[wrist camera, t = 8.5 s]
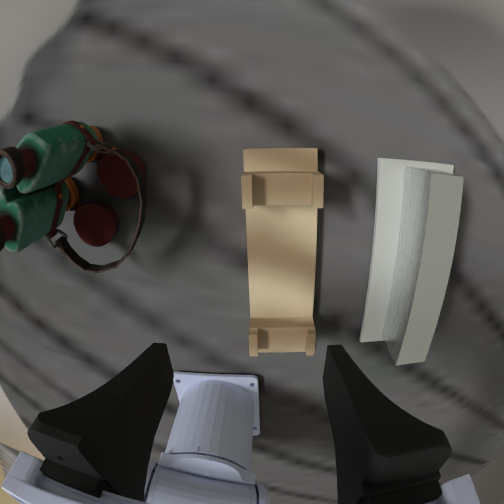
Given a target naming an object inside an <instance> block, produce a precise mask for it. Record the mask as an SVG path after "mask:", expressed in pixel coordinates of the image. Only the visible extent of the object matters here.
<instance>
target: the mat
mask: <svg viewBox="0 0 504 504" xmlns="http://www.w3.org/2000/svg"><path fill="white" fill-rule="evenodd" d="M404 166H409V167H420V168H429V169H436V170H440V171H444V172H447V173H451V174H453V170H454V165H450V164H441V163H433V162H423V161H413V160H402V159H389V158H378V162H377V192H376V210H375V224H374V236H373V247H372V256H371V265H370V274H369V282H368V289H367V296H366V303H365V310H364V316H363V322H362V328H361V333H360V339H359V340H360V342H372V341H383V340H384V339H383V337H382V332H383V327H384V323H385V318H386V313H387V308H388V303H389V298H390V292H391V286H392V281H393V274H394V268H395V261H396V254H397V246H398V238H399V229H400V219H401V208H402V195H403V179H404Z"/></svg>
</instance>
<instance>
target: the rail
mask: <svg viewBox="0 0 504 504" xmlns="http://www.w3.org/2000/svg"><path fill="white" fill-rule="evenodd" d="M463 179H464V177H462V176H458V175H455V174H451V173H447V172H444V171H440V170H436V169H429V168H420V167H409V166H404V179H403V195H402V208H401V219H400V229H399V238H398V246H397V254H396V261H395V268H394V274H393V281H392V286H391V292H390V298H389V303H388V308H387V313H386V318H385V323H384V327H383V332H382V337H383V339H384V341H385V343H386V345H387V347H388V349H389V352H390V354H391V356H392V358H393V360H394V362H395V364H396V365H403V364H410V363H417V362H423V361H425V359H426V356H427V353H428V350H429V347H430V344H431V341H432V338H433V335H434V332H435V329H436V325H437V322H438V319H439V315H440V311H441V308H442V304H443V300H444V296H445V292H446V288H447V284H448V280H449V275H450V270H451V266H452V261H453V255H454V250H455V244H456V238H457V232H458V225H459V218H460V210H461V201H462V191H463Z"/></svg>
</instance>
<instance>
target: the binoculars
mask: <svg viewBox="0 0 504 504" xmlns="http://www.w3.org/2000/svg"><path fill="white" fill-rule="evenodd" d="M121 149H123V147H121V148H116V147H112V146H110V144H108V143H105V142H103V138H102V135H101V133H100V131H99V129H98V128H96V127H94V126H88V125H86V124H85V123H83V122H76V121H67V122H64V123H62V124H60V125H58V126H54V127H49V128H45V129H41V130H37V131H34V132H31V133H29V134H27V135H25V136H24V137H23V138H22V140H21V141H20V142H19V144H18V145H17V147H8V148H3V149H0V184H1V185H2V186H3V188H2V189H1V191H0V251H1V250H2V249H3V248H4V247H5V248H6V249H7V250H9V251H11V252H12V253H17V252H19V251H21V250H23V249H24V248H26V247H27V246H29V245H31V244H32V243H34V242H36V241H37V240H39V239H40V238H42V237H43V236H47V240H48V242H49V244H50V245H51V247H52V248H56V247H57V248H58V249H60V250H61V251H62V253H63V254H64V256H67V257H68V258H69V259H70V260H71V261H72V262H73V263H74V264H75V265H76V266H78V267H79V268H81V269H82V270H84V271H86V272H93V273H100V272H103V271H107V270H110V269H113V268H117V266H118V265H119V264H120V263H121V262H122V261H123V260H124V259H125V258H126V257H127V256H128V255H129V253H130V252H131V251H132V249H133V248H134V246H135V243H136V241H137V239H138V237H139V235H140V233H141V229H142V226H143V223H144V219H145V212H146V203H147V197H146V191H145V185H144V181H145V179H146V168H145V164H144V162H143V161H142V159H141V158H140V157H139V156H138V155H137V154H135V153H133V152H130V151H127V150H121ZM107 153H109V154H107ZM96 160H100V161H99V163H98V165H97V175H98V178H99V181H100V183H101V184H102V186H103V188H104V189H105V190H106V191H107V192H108V193H109V194H111V195H112V196H114V197H117V198H128V197H130V196H133V195H134V194H135V193H136V192H137V191H138V192H139V198H140V203H141V205H140V214H139V223H138V227H137V230H136V234H135V237H134V240H133V242H132V244H131V246H130V249H129V251H128V252H127V253H126V254H125V255H124V256H123V258H122V259H121V260H119V261H115V262H112V263H109V264H106V265H95V264H90V263H88V262H87V261H86V260H84V259H83V258H81V257H80V256H79V255H78V254H77V253H76V252H75V251H74V250H73V249H72V247H71V246H70V245H69V243H68V241H67V234H65V233H64V232H62V231H61V230H59V229H56V228H57V227H58V226H59V225H60V224H61V223H62V220H63V218H64V214H65V211H69V210H70V211H73V210H74V211H76V212H75V214H74V226H75V229H76V231H77V233H78V235H79V237H80V238H81V239H82V240H83V241H84V242H85V243H86V244H88V245H90V246H94V247H99V246H103V245H105V244H107V243H108V242H109V241H110V240H111V239H112V238H113V236H114V235H115V234H116V231H117V229H118V218H117V215H116V213H115V211H114V210H113V209H112V208H111V207H110V206H109V205H107V204H105V203H102V202H89V203H86V204H85V205H82V204H80V203H78V202H79V192H78V189H77V186H76V184H75V182H74V181H73V180H72V179H71V178H70V177H71V176H73V175H75V174H76V173H78V172H79V171H80V170H81V169H82V168H83V166H84V165H85V164H86V163H88V162H92V161H96ZM57 232H58V233H60V234H62V235H63V236H61V237H60V238H59V239H58V240H56V241H55V243H54V244H55V245H54V244H53V243H52V241H51V240H50V238H52V237H54V236H55V235H56V234H57ZM64 236H65V237H64Z"/></svg>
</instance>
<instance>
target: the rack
mask: <svg viewBox="0 0 504 504" xmlns="http://www.w3.org/2000/svg"><path fill="white" fill-rule="evenodd" d="M243 156H244V173H243V174H242V175H241V186H242V208H243V209H246V227H247V250H248V273H249V295H250V317H251V318H250V327H249V350H250V356H258V352H306V355H314V351H315V341H316V331H315V326H314V321H313V302H314V286H315V266H316V241H317V208H323V193H324V175H323V174H322V173H320V172H319V171H318V152H317V148H254V149H243Z"/></svg>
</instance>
